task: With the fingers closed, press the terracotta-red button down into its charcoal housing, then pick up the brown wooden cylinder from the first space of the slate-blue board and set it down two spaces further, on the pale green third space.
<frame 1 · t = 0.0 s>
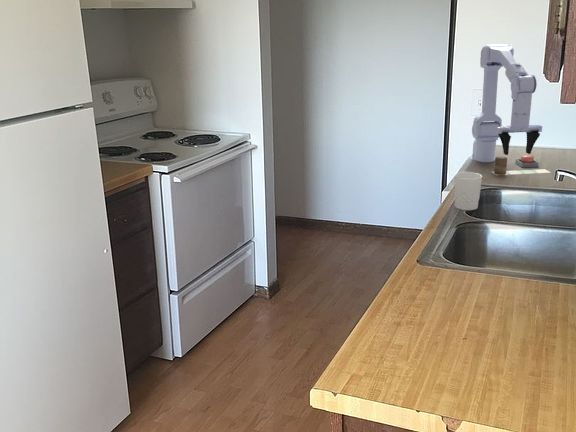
hand: (517, 153, 207), 10 cm above the worktop, tool pointing down, fingers open, 7 cm apart
board: (520, 174, 219), on the worktop
white cup: (466, 207, 188), on the worktop
button housing: (526, 167, 227), on the worktop
brown wooden cylinder: (500, 173, 218), point 1 cm above the worktop, touching board
button: (527, 159, 226), point 3 cm above the worktop, slide at 0.0 cm
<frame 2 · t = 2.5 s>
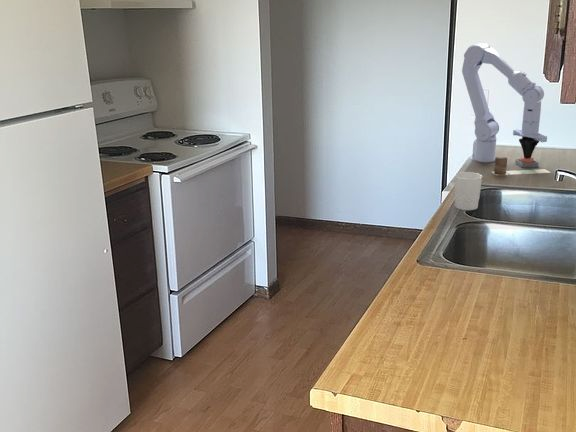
hand: (527, 157, 226), 4 cm above the worktop, tool pointing down, fingers closed, pressing on button
button: (527, 161, 227), point 2 cm above the worktop, slide at 0.5 cm, touching gripper
everything else where it was.
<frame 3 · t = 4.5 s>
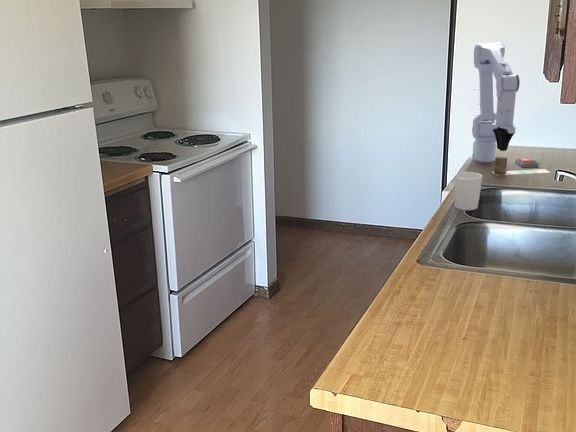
hand: (502, 149, 215), 9 cm above the worktop, tool pointing down, fingers closed
button: (526, 162, 227), point 2 cm above the worktop, slide at 1.2 cm
everything else where it was.
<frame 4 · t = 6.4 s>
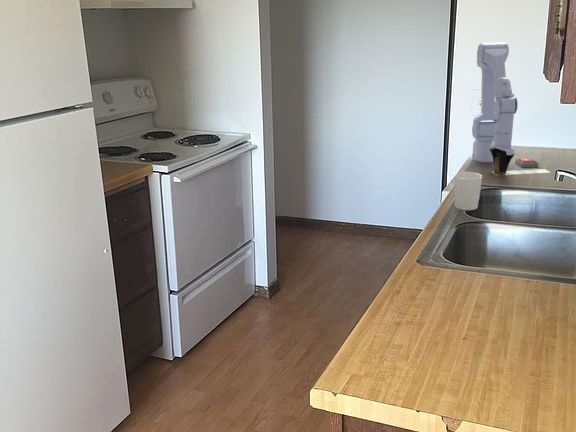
hand: (500, 170, 218), 2 cm above the worktop, tool pointing down, fingers closed on brown wooden cylinder, 4 cm apart
brown wooden cylinder: (500, 173, 218), point 1 cm above the worktop, touching board, gripper
everything else where it was.
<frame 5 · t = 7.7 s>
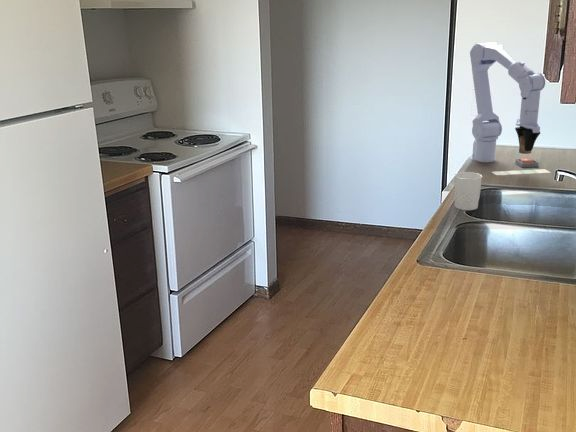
hand: (525, 149, 216), 9 cm above the worktop, tool pointing down, fingers closed on brown wooden cylinder, 4 cm apart
brown wooden cylinder: (525, 152, 216), point 8 cm above the worktop, touching gripper
everything else where it was.
when the fingers open (3 cm above the worktop, at t = 9.4 s): brown wooden cylinder stays where it is, resting on board.
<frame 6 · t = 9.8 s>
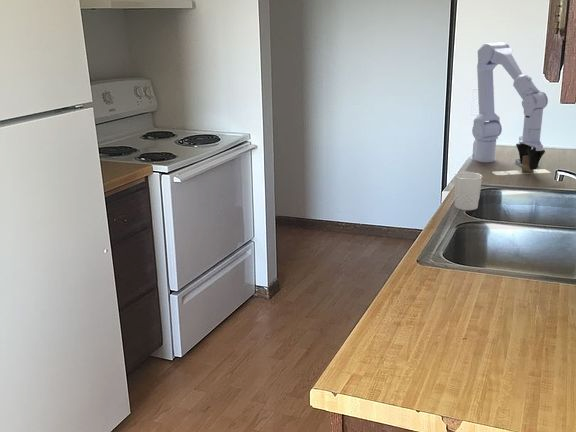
hand: (528, 166, 218), 3 cm above the worktop, tool pointing down, fingers open, 7 cm apart
brown wooden cylinder: (527, 171, 218), point 1 cm above the worktop, touching board
everything else where it was.
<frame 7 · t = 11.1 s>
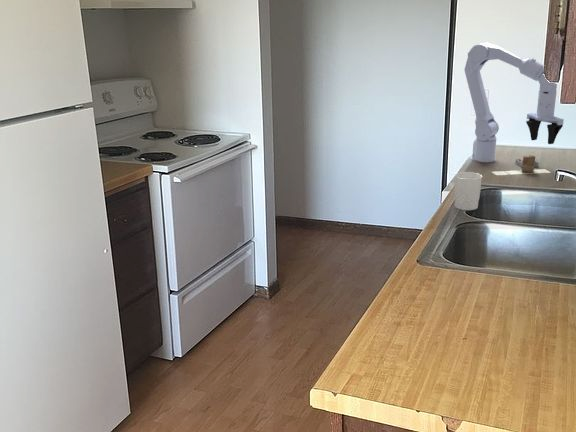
hand: (542, 141, 222), 10 cm above the worktop, tool pointing down, fingers open, 7 cm apart
nothing on the worktop moved.
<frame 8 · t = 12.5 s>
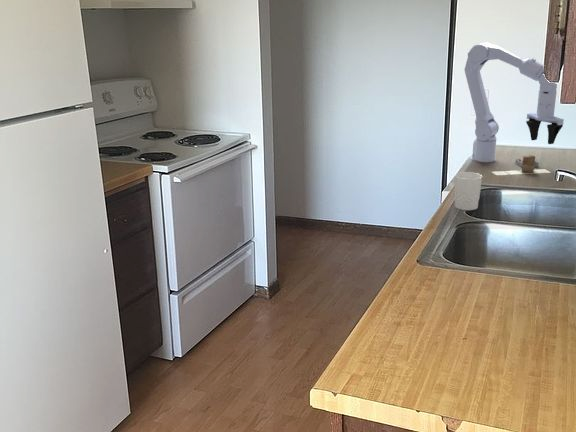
hand: (542, 141, 222), 10 cm above the worktop, tool pointing down, fingers open, 7 cm apart
nothing on the worktop moved.
at the end: button slide at 1.2 cm; brown wooden cylinder 0.1 cm from the target spot, point 1.0 cm above the worktop; brown wooden cylinder tilted 1° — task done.
